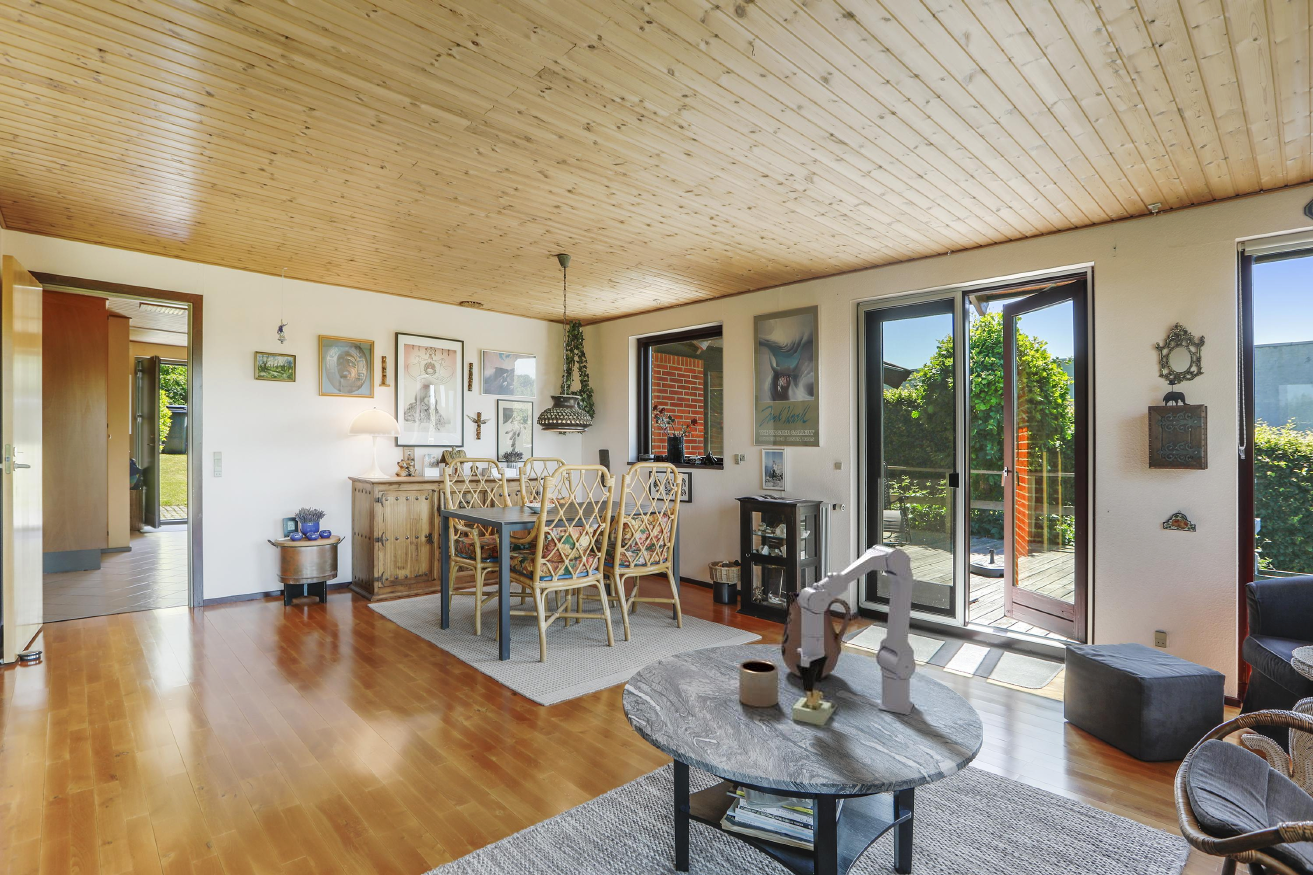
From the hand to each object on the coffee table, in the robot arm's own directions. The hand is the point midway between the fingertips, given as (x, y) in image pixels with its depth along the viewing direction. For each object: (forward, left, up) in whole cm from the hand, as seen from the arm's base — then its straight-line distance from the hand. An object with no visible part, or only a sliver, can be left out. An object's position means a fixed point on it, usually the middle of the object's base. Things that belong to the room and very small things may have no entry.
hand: (812, 686), depth 168 cm
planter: (-3, -16, -8) cm, 18 cm away
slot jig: (-3, 0, -8) cm, 9 cm away
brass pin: (0, 0, -8) cm, 8 cm away
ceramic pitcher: (-32, -8, -8) cm, 34 cm away
